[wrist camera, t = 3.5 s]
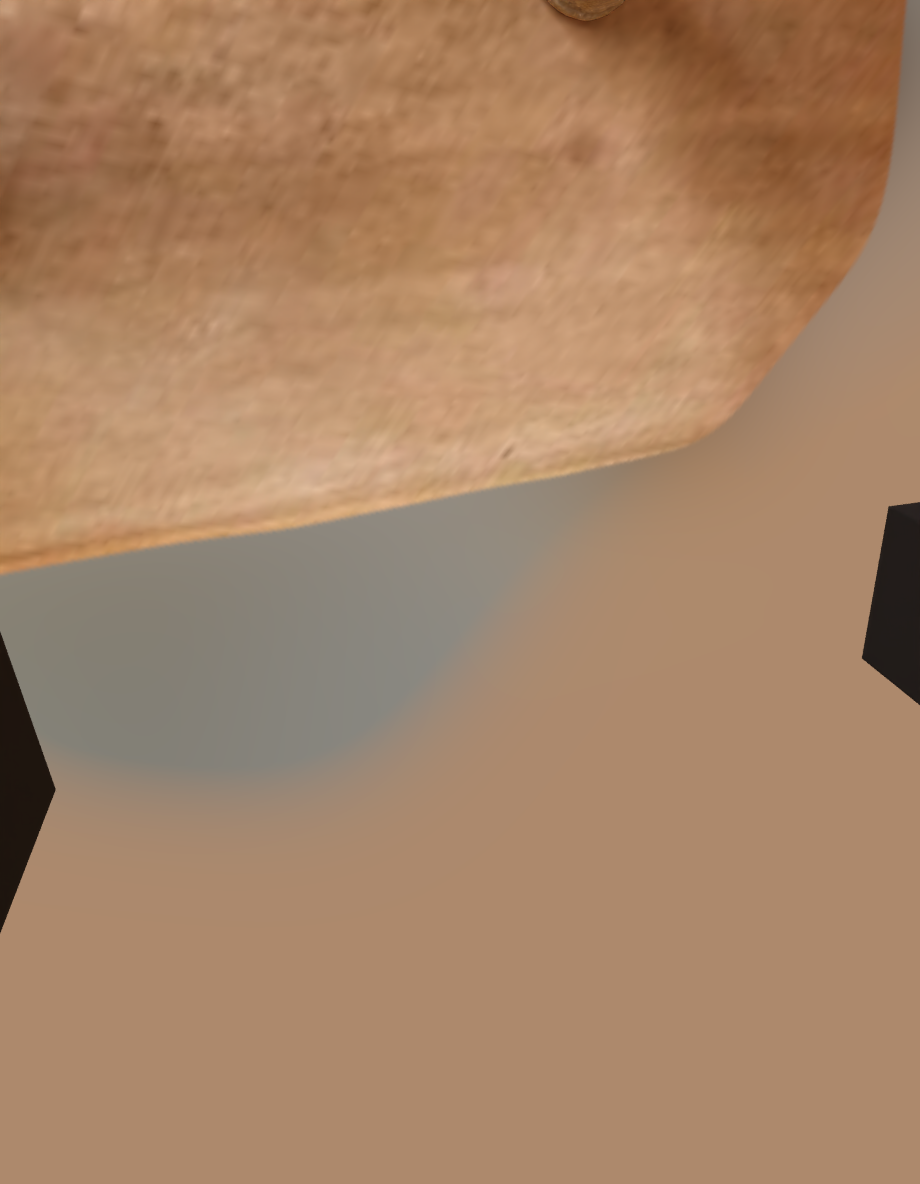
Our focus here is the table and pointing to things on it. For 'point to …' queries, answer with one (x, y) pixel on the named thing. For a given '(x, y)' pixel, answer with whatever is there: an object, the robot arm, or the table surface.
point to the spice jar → (585, 8)
